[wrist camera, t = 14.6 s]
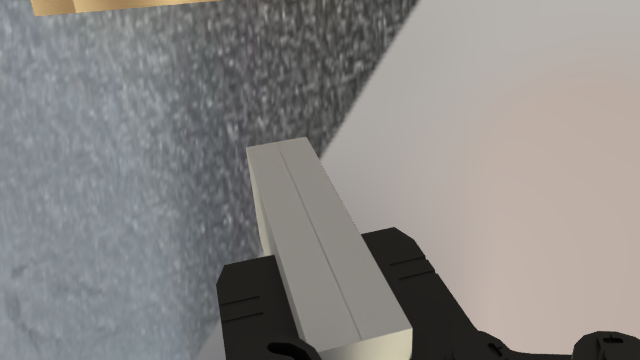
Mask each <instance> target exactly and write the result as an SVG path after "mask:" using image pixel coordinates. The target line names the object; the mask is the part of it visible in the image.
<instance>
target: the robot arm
mask: <svg viewBox="0 0 640 360" xmlns="http://www.w3.org/2000/svg"><path fill="white" fill-rule="evenodd" d="M246 151H247V157H248V164H249V170H250V177H251V183H252V189H253V196H254V202H255V208H256V215H257V221H258V228H259V234H260V239H261V243H262V247H263V250H264V254H265V257H260V258H256V259H251V260H246V261H242V262H237V263H232V264H228V265H224V268H223V270H222V272H221V275H220V277H219V279H218V282H217V284H216V287H217V295H218V302H219V308H220V309H219V310H220V317H221V324H222V332H223V339H224V346H225V354H226V360H640V340H639V339H638V338H636V337H633V336H629V335H626V334H622V333H619V332H610V331H608V332H607V331H597V332H594V333H591V334H587V335H584V336H583V337H582V338H581V339H580V340H579V341H578V342H577V343H576V344H575V345H574V349H573V353H572V355H559V354H529V353H521V352H516V351H512V350H510V349H509V348H508V347H507V346H506V345H505V344H503V342H502V341H501V340H499V339H497V338H495V337H493V336H492V335H490V334H487V333H486V332H483V331H478V330H477V329H476V328H475V327H474V326H473V324H472V323H471V322H470V320H469V318H468V317H467V316H466V314H465V313H464V311H463V310H462V308H461V307H460V305H459V304H458V303H457V301H456V300H455V299H454V297H453V295H452V294H451V293H450V291H449V290H448V288H447V287H446V285H445V284H444V282H443V281H442V280H441V278H440V277H439V275H438V274H436V273H435V269H434V268H433V267H432V265H431V264H430V262H429V261H428V260H426V258H425V255H424V254H423V252H422V251H421V249H420V248H419V246H418V245H417V244H416V242H415V241H414V240H413V239H412V238H411V237H409V236H407V235H406V234H404V233H403V232H401V231H400V230H398V229H397V228H395V227H393V228H388V229H383V230H379V231H374V232H369V233H365V234H360V233H359V231H358V229H357V227H356V225H355V224H354V222H353V221H352V218H351V217H350V215H349V213H348V211H347V209H346V208H345V206H344V204H343V202H342V200H341V198H340V197H339V195H338V193H337V191H336V189H335V188H334V186H333V184H332V182H331V180H330V179H329V177H328V175H327V173H326V171H325V170H324V168H323V166H322V164H321V162H320V161H319V159H318V157H317V155H316V153H315V152H314V150H313V148H312V146H311V144H310V143H309V141H308V139H307V137H303V138H297V139H291V140H286V141H280V142H274V143H268V144H263V145H257V146H251V147H246Z"/></svg>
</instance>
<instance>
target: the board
mask: <svg viewBox="0 0 640 360" xmlns="http://www.w3.org/2000/svg"><path fill="white" fill-rule="evenodd" d="M207 1H219V0H31V3H32V7H33V10H34V13H35V16H43V15H55V14H67V13H78V12H90V11H102V10H113V9H125V8H137V7H149V6H160V5H172V4H184V3H195V2H207Z"/></svg>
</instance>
